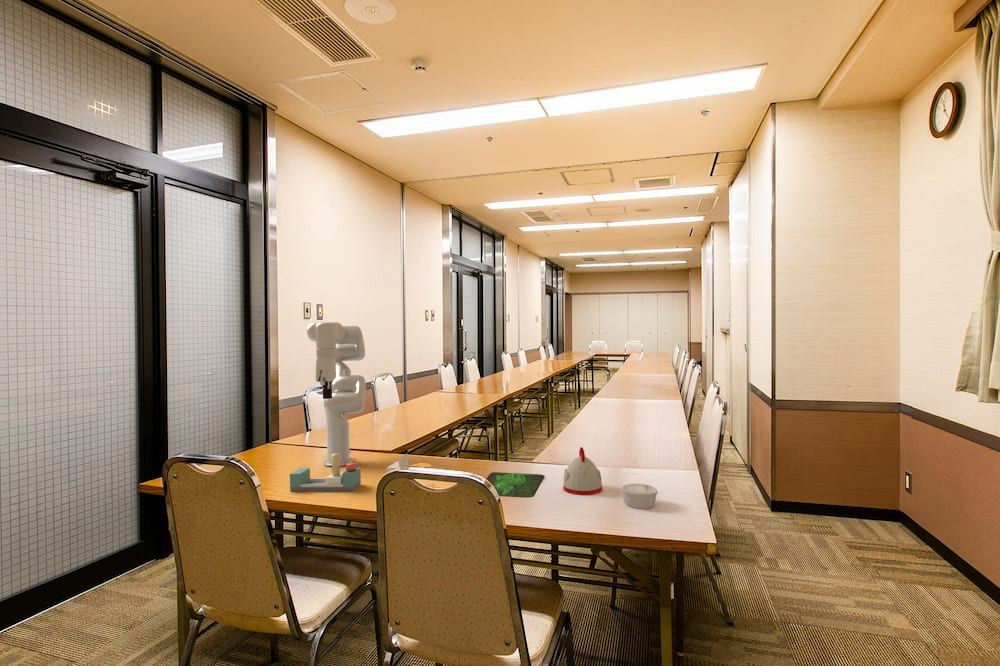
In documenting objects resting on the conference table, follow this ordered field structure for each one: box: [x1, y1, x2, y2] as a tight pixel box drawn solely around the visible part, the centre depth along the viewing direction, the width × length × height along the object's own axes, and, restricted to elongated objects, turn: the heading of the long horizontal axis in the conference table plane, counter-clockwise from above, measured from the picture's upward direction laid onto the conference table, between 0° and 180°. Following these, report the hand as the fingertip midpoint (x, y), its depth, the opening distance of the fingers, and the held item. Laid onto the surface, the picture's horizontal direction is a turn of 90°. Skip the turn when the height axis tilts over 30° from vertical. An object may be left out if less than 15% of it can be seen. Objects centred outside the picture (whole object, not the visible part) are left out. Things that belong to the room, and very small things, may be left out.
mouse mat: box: [485, 471, 545, 499], centre depth 190 cm, size 27×22×1 cm
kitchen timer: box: [563, 446, 603, 496], centre depth 183 cm, size 14×14×15 cm
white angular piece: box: [386, 453, 410, 473], centre depth 179 cm, size 9×5×15 cm, turn 168°
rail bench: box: [289, 467, 362, 492], centre depth 192 cm, size 8×24×6 cm, turn 86°
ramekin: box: [621, 483, 658, 510], centre depth 166 cm, size 11×11×5 cm
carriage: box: [324, 453, 343, 484], centre depth 192 cm, size 6×6×11 cm
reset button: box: [345, 462, 358, 471], centre depth 191 cm, size 4×4×2 cm
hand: (327, 398), depth 205 cm, fingers closed
